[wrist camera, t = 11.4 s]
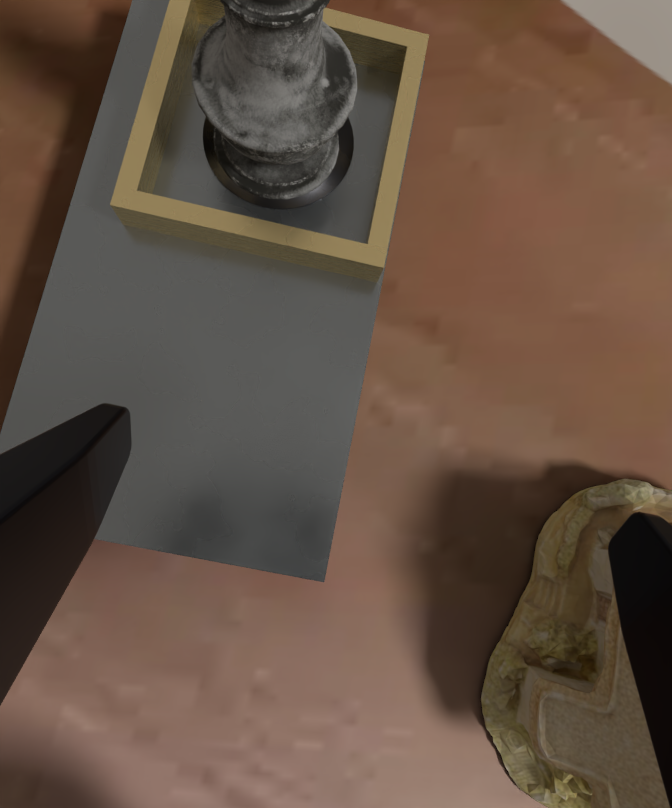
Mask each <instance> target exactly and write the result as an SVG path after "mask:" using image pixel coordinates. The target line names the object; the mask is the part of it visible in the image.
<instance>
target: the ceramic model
mask: <svg viewBox="0 0 672 808" xmlns="http://www.w3.org/2000/svg"><path fill="white" fill-rule="evenodd" d="M635 512H644V513H649V514H654V515H658V516H660V517H662V518H663V519H665V520H666V521H667V522H668V523H669V524H671V525H672V490H666V489H661V488H657V487H654V486H651V484H649V483H647V482H643V481H639V480H633V479H621V480H617V481H614V482H611V483H608V484H605V485H598V486H594V487H590V488H587V489H584V490H581V491H579V492H578V493H576V494H574V495H573V496H572V497H571V498H570V499H569V500H567V501H566V502H565V503H564V504H563V505H562V506H561V507H560V508H559V509H558V510H557V511H555V512H554V513H553V514H552V515H551V517H550V518H549V519H548V520H547V521H546V523H545V525H544V526H543V528H542V531H541V533H540V534H539V536H538V540H537V544H536V548H535V555H534V562H533V569H532V575H531V579H530V581H529V583H528V585H527V587H526V589H525V591H524V592H523V594H522V596H521V598H520V600H519V603H518V606H517V608H516V609H515V612H514V615H513V617H512V618H511V620H510V623H509V625H508V626H507V627H506V629H505V631H504V633H503V635H502V638H501V640H500V641H499V642H498V643H497V645H496V648H495V649H494V651H493V653H492V655H491V657H490V660H489V663H488V667H487V673H486V677H485V681H484V685H483V690H482V695H481V703H482V714H483V716H484V720H485V725H486V729H487V730H488V731H489V732H490V734H491V736H492V737H493V743H494V744H495V746H496V747H497V749H498V751H499V752H500V754H501V756H502V759H503V763H504V766H505V767H506V769H507V770H508V772H509V775H510V777H512V779H513V780H514V782H515V783H516V785H517V786H518V787H519V789H521V790H523V791H524V792H525V793H526V794H529V795H530V797H531V798H533V799H534V800H536V801H537V802H539V803H541V804H543V805H545V806H546V807H548V808H670V807H669V803H668V799H667V796H666V792H665V789H664V785H663V781H662V778H661V774H660V770H659V767H658V763H657V760H656V756H655V752H654V749H653V745H652V741H651V738H650V734H649V730H648V727H647V723H646V720H645V716H644V712H643V709H642V705H641V701H640V698H639V694H638V691H637V687H636V683H635V680H634V676H633V672H632V669H631V665H630V662H629V658H628V654H627V651H626V647H625V643H624V639H623V635H622V631H621V625H620V620H619V615H618V609H617V603H616V597H615V591H614V585H613V579H612V573H611V567H610V561H609V555H608V545H609V542H610V539H611V538H612V537H613V535H614V534H615V533H616V532H617V531H618V529H619V528H620V527H621V526H622V525H623V523H624V522H625V521H626V520H627V519H628V517H629V516H630V515H631V514H633V513H635Z"/></svg>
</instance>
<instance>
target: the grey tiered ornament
mask: <svg viewBox="0 0 672 808" xmlns="http://www.w3.org/2000/svg"><path fill="white" fill-rule="evenodd" d="M220 1H221V3H222V4H223V5H224V11H225V15H224V16H223V17H222V18H220V19H219V20H218V21H217V22H216V23H215V24H213V25H212V26H211V27H210V28H209V29H208V30H207V31H206V33H205V34H204V36H203V37H202V39H201V40H200V42H199V43H198V45H197V47H196V51H195V54H194V57H193V61H192V86H193V89H194V93H195V96H196V99H197V102H198V105H199V107H200V108H201V110H202V111H203V113H204V114H205V116H206V117H207V119H208V120H209V122H210V123H211V124H212V125H213V126H214V127H215V128H214V149H215V152H216V155H217V158H218V161H219V164H220V165H221V167H222V168H223V170H224V171H225V173H226V174H227V176H228V177H229V178H230V179H231V180H232V181H233V182H235V183H236V184H237V185H238V186H239V187H240V188H242V189H244V190H246V191H248V192H250V193H252V194H254V195H256V196H260V197H264V198H268V199H291V198H295V197H299V196H303V195H305V194H307V193H309V192H311V191H313V190H314V189H316V188H318V187H319V186H320V185H321V184H322V183H323V182H324V181H325V180H326V179H327V178H328V177H329V175H330V173H331V172H332V170H333V168H334V166H335V165H336V160H337V156H338V152H339V137H338V130H339V129H340V128H341V127H342V126H343V125H344V123H345V122H346V120H347V118H348V116H349V115H350V113H351V111H352V109H353V106H354V101H355V97H356V93H357V74H356V67H355V65H354V62H353V59H352V56H351V54H350V51H349V49H348V48H347V46H346V45H345V44H344V42H343V41H342V39H341V38H340V36H339V35H338V34H337V33H336V32H335V31H334V30H333V29H331V28H330V27H329V26H328V25H327V24H326V23H325V22H324V21H323V9H324V8H325V7H326V6H327V4H328V3H329V1H330V0H220Z"/></svg>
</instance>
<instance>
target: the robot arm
mask: <svg viewBox="0 0 672 808" xmlns="http://www.w3.org/2000/svg"><path fill="white" fill-rule="evenodd" d="M131 446H132V438H131V417H130V412H129V409H128V408H126V407H124V406H119V405H114V404H109V403H102V404H100V405H97V406H95V407H93V408H91V409H89V410H87V411H85V412H83V413H81V414H79V415H77V416H75V417H74V418H72V419H70V420H68V421H66V422H64V423H62V424H60V425H58V426H56V427H54V428H52V429H50V430H48V431H46V432H44V433H42V434H40V435H38V436H36V437H34V438H32V439H30V440H28V441H26V442H24V443H22V444H20V445H18V446H16V447H14V448H12V449H10V450H8V451H6V452H4V453H2V454H0V705H1V703H2V702H3V700H4V698H5V696H6V695H7V693H8V691H9V689H10V687H11V686H12V684H13V682H14V680H15V679H16V677H17V675H18V673H19V672H20V670H21V668H22V666H23V664H24V663H25V661H26V659H27V657H28V656H29V654H30V652H31V650H32V648H33V647H34V645H35V643H36V641H37V640H38V638H39V636H40V634H41V633H42V631H43V629H44V627H45V625H46V624H47V622H48V620H49V618H50V617H51V615H52V613H53V611H54V609H55V608H56V606H57V604H58V602H59V601H60V599H61V597H62V595H63V594H64V592H65V590H66V588H67V586H68V585H69V583H70V581H71V579H72V578H73V576H74V574H75V572H76V571H77V569H78V567H79V565H80V563H81V562H82V560H83V558H84V556H85V555H86V553H87V551H88V549H89V547H90V546H91V544H92V542H93V540H94V538H95V536H96V534H97V532H98V530H99V528H100V525H101V523H102V521H103V518H104V516H105V514H106V511H107V509H108V506H109V504H110V502H111V499H112V497H113V494H114V492H115V490H116V487H117V485H118V482H119V480H120V478H121V475H122V473H123V470H124V468H125V466H126V463H127V461H128V458H129V456H130V452H131ZM608 555H609V561H610V567H611V573H612V579H613V585H614V591H615V597H616V603H617V609H618V615H619V620H620V625H621V631H622V635H623V639H624V643H625V647H626V651H627V654H628V658H629V662H630V665H631V669H632V672H633V676H634V680H635V683H636V687H637V691H638V694H639V698H640V701H641V705H642V709H643V712H644V716H645V720H646V723H647V727H648V730H649V734H650V738H651V741H652V745H653V749H654V752H655V756H656V760H657V763H658V767H659V770H660V774H661V778H662V781H663V785H664V789H665V792H666V796H667V799H668V803H669V807H670V808H672V525H671V524H669V523H668V522H667V521H666V520H665V519H663V518H662V517H660V516H658V515H654V514H649V513H644V512H635V513H633V514H631V515H630V516H629V517H628V519H627V520H626V521H625V522H624V523H623V525H622V526H621V527H620V528H619V529H618V531H617V532H616V533H615V534H614V535H613V537H612V538H611V539H610V542H609V545H608Z"/></svg>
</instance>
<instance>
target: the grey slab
mask: <svg viewBox="0 0 672 808" xmlns="http://www.w3.org/2000/svg"><path fill="white" fill-rule="evenodd" d="M224 15H225V11H224V5H223V4H222V3H221V1H220V0H132V4H131V7H130V10H129V13H128V17H127V20H126V23H125V27H124V30H123V33H122V36H121V40H120V43H119V46H118V49H117V53H116V56H115V59H114V63H113V66H112V69H111V72H110V76H109V79H108V82H107V86H106V89H105V92H104V95H103V99H102V102H101V105H100V108H99V112H98V115H97V118H96V122H95V125H94V128H93V131H92V135H91V138H90V141H89V144H88V148H87V151H86V154H85V158H84V161H83V164H82V167H81V171H80V174H79V177H78V181H77V184H76V187H75V190H74V194H73V197H72V200H71V203H70V207H69V210H68V213H67V217H66V220H65V223H64V226H63V230H62V233H61V236H60V239H59V243H58V246H57V249H56V253H55V256H54V259H53V262H52V266H51V269H50V272H49V275H48V279H47V282H46V285H45V289H44V292H43V295H42V298H41V302H40V305H39V308H38V312H37V315H36V318H35V321H34V325H33V328H32V331H31V334H30V338H29V341H28V344H27V348H26V351H25V354H24V357H23V361H22V364H21V367H20V370H19V374H18V377H17V380H16V384H15V387H14V390H13V393H12V397H11V400H10V403H9V407H8V410H7V413H6V416H5V420H4V423H3V426H2V429H1V433H0V454H2V453H4V452H6V451H8V450H10V449H12V448H14V447H16V446H18V445H20V444H22V443H24V442H26V441H28V440H30V439H32V438H34V437H36V436H38V435H40V434H42V433H44V432H46V431H48V430H50V429H52V428H54V427H56V426H58V425H60V424H62V423H64V422H66V421H68V420H70V419H72V418H74V417H75V416H77V415H79V414H81V413H83V412H85V411H87V410H89V409H91V408H93V407H95V406H97V405H100V404H102V403H109V404H114V405H119V406H124V407H126V408H128V409H129V412H130V417H131V438H132V446H131V452H130V456H129V458H128V461H127V463H126V466H125V468H124V470H123V473H122V475H121V478H120V480H119V482H118V485H117V487H116V490H115V492H114V494H113V497H112V499H111V502H110V504H109V506H108V509H107V511H106V514H105V516H104V518H103V521H102V523H101V525H100V528H99V530H98V532H97V534H96V536H95V538H94V539H97V540H103V541H108V542H113V543H119V544H124V545H129V546H135V547H140V548H145V549H151V550H156V551H161V552H166V553H172V554H177V555H182V556H188V557H193V558H198V559H204V560H209V561H214V562H220V563H225V564H230V565H236V566H241V567H246V568H251V569H257V570H262V571H267V572H273V573H278V574H283V575H289V576H294V577H299V578H305V579H310V580H315V581H321V582H324V580H325V575H326V570H327V565H328V559H329V554H330V549H331V544H332V539H333V534H334V528H335V523H336V518H337V513H338V508H339V503H340V497H341V492H342V487H343V482H344V477H345V472H346V466H347V461H348V456H349V451H350V446H351V441H352V435H353V430H354V425H355V420H356V415H357V410H358V404H359V399H360V394H361V389H362V384H363V379H364V373H365V368H366V363H367V358H368V353H369V348H370V342H371V337H372V332H373V327H374V322H375V317H376V311H377V306H378V301H379V296H380V291H381V286H382V280H383V275H384V270H385V265H386V260H387V255H388V249H389V244H390V239H391V234H392V229H393V224H394V218H395V213H396V208H397V203H398V198H399V193H400V187H401V182H402V177H403V172H404V167H405V162H406V156H407V151H408V146H409V141H410V136H411V131H412V125H413V120H414V115H415V110H416V105H417V100H418V94H419V89H420V84H421V79H422V74H423V69H424V63H425V61H424V59H425V54H426V48H427V43H428V38H429V35H428V34H424V33H420V32H416V31H412V30H409V29H405V28H401V27H397V26H393V25H389V24H386V23H382V22H378V21H374V20H370V19H366V18H363V17H359V16H355V15H351V14H347V13H343V12H340V11H336V10H332V9H328V8H324V9H323V21H324V22H325V23H326V24H327V25H328V26H329V27H330V28H331V29H333V30H334V31H335V32H336V33H337V34H338V35H339V36H340V38H341V39H342V41H343V42H344V44H345V45H346V46H347V48H348V49H349V51H350V54H351V56H352V59H353V62H354V65H355V67H356V74H357V93H356V97H355V101H354V106H353V109H352V111H351V113H350V115H349V116H348V118H347V120H346V122H345V123H344V125H343V126H342V127H341V128H340V129H339V130H338V137H339V152H338V156H337V160H336V165H335V166H334V168H333V170H332V172H331V173H330V175H329V177H328V178H327V179H326V180H325V181H324V182H323V183H322V184H321V185H320V186H319V187H318V188H316V189H314V190H313V191H311V192H309V193H307V194H305V195H303V196H299V197H295V198H291V199H268V198H264V197H260V196H256V195H254V194H252V193H250V192H248V191H246V190H244V189H242V188H240V187H239V186H238V185H237V184H236V183H235V182H233V181H232V180H231V179H230V178H229V177H228V176H227V174H226V173H225V171H224V170H223V168H222V167H221V165H220V164H219V161H218V158H217V155H216V152H215V149H214V128H215V127H214V126H213V125H212V124H211V123H210V122H209V120H208V119H207V117H206V116H205V114H204V113H203V111H202V110H201V108H200V107H199V105H198V102H197V99H196V96H195V93H194V89H193V86H192V61H193V57H194V54H195V51H196V47H197V45H198V43H199V42H200V40H201V39H202V37H203V36H204V34H205V33H206V31H207V30H208V29H209V28H210V27H211V26H212V25H213V24H215V23H216V22H217V21H218V20H219V19H220V18H222V17H223V16H224Z"/></svg>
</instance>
